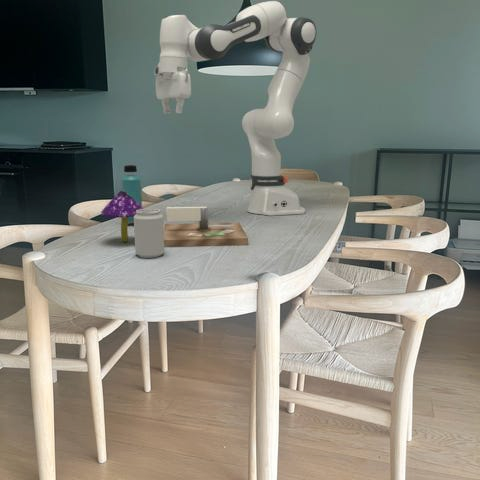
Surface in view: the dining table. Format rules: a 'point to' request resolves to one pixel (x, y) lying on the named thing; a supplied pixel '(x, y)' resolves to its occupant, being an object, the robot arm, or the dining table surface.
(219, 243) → the board
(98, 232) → the dining table surface
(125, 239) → the decorative mushroom
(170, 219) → the cream lever
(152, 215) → the can
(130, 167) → the beverage bottle
